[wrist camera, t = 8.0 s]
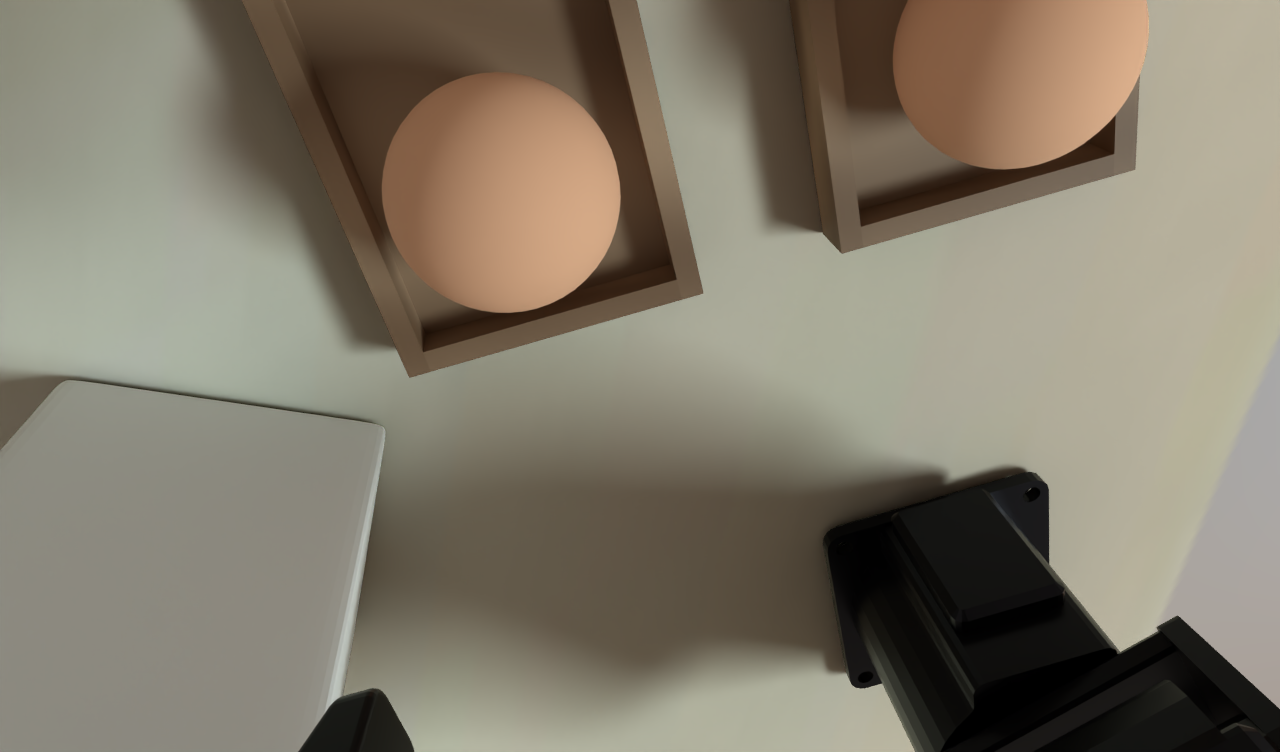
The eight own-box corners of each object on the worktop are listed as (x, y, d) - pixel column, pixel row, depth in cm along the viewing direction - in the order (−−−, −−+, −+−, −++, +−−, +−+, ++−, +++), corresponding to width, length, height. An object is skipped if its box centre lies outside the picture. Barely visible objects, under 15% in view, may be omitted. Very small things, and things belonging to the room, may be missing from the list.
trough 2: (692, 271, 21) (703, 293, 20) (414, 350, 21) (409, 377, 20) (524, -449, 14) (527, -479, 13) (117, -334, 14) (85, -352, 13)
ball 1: (629, 230, 20) (661, 314, 16) (439, 285, 20) (424, 381, 16) (574, 26, 17) (597, 66, 14) (360, 87, 17) (321, 145, 14)
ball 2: (1060, 107, 20) (1197, 160, 16) (870, 161, 20) (961, 227, 16) (1061, -113, 17) (1219, -113, 14) (847, -52, 17) (946, -34, 14)
